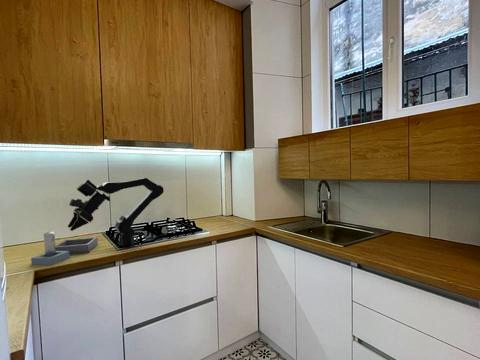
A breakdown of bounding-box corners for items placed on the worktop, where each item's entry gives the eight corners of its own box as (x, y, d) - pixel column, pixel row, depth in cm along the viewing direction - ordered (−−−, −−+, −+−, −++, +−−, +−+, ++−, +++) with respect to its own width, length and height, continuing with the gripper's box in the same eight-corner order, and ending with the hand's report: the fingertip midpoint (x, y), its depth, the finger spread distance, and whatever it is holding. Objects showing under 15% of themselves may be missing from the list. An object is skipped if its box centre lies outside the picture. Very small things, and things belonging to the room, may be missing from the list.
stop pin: (58, 259, 122) (56, 231, 122) (51, 262, 118) (48, 233, 118) (51, 259, 123) (49, 231, 122) (43, 262, 119) (41, 233, 118)
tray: (98, 244, 145) (97, 237, 145) (88, 252, 131) (88, 244, 131) (65, 247, 142) (65, 239, 142) (52, 255, 128) (52, 247, 128)
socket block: (69, 257, 125) (69, 251, 125) (51, 265, 115) (50, 258, 115) (51, 256, 127) (50, 250, 126) (31, 264, 117) (31, 257, 117)
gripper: (77, 191, 135) (52, 216, 128) (83, 193, 120) (55, 221, 114) (95, 204, 140) (72, 229, 134) (103, 208, 125) (78, 236, 119)
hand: (69, 228), depth 125 cm, fingers open, 9 cm apart
